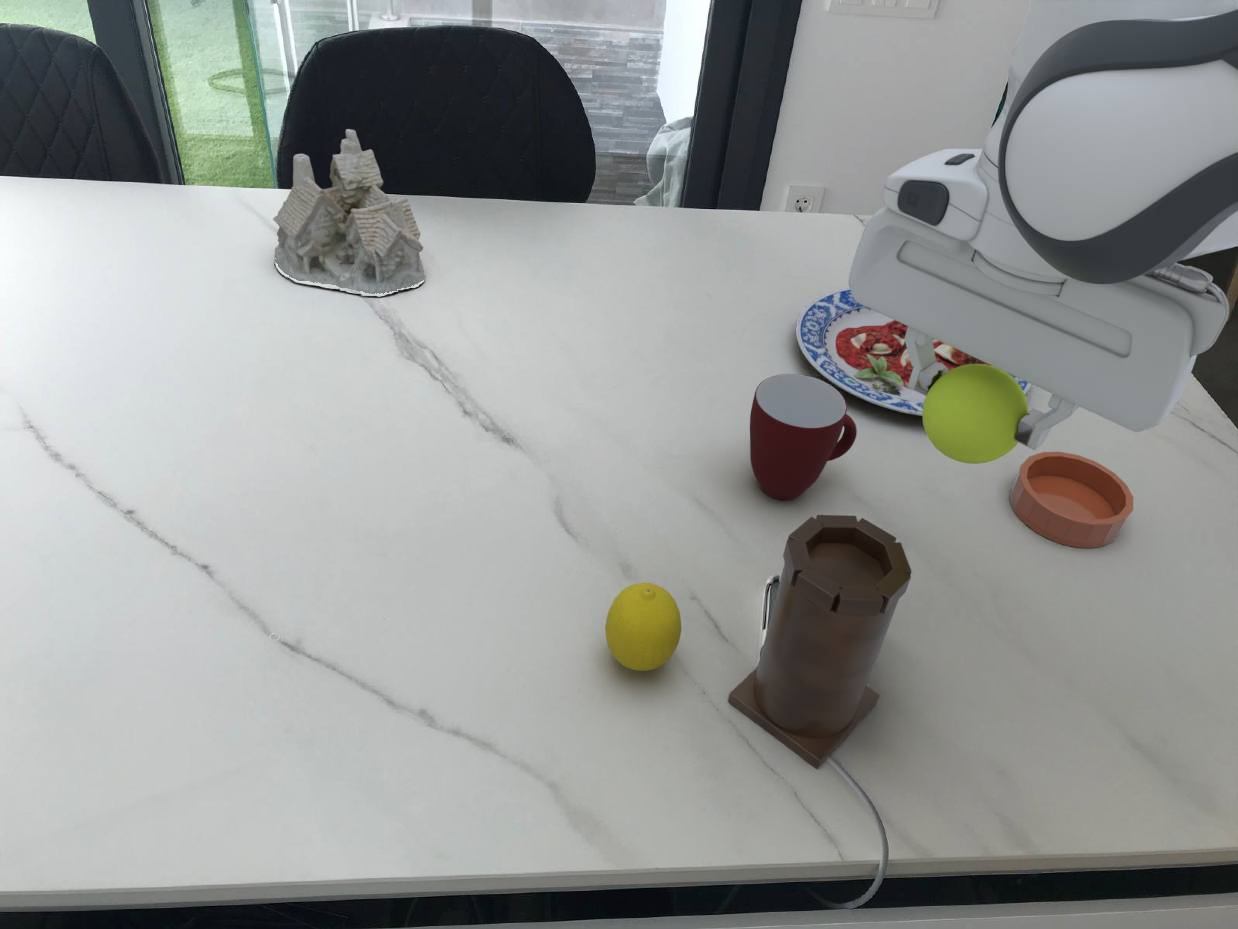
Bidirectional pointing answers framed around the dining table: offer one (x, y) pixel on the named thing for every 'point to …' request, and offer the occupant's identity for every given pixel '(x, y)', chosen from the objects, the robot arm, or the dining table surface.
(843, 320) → the ceramic plate
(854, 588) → the brown toy castle tower
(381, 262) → the ceramic cottage
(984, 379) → the tennis ball
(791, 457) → the mug
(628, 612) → the lemon
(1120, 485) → the terracotta dish
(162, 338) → the dining table surface
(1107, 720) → the dining table surface
